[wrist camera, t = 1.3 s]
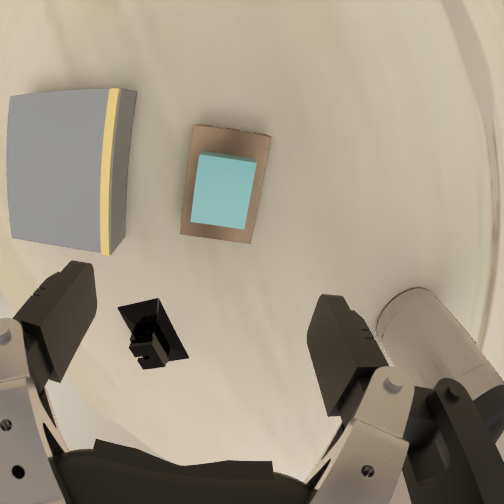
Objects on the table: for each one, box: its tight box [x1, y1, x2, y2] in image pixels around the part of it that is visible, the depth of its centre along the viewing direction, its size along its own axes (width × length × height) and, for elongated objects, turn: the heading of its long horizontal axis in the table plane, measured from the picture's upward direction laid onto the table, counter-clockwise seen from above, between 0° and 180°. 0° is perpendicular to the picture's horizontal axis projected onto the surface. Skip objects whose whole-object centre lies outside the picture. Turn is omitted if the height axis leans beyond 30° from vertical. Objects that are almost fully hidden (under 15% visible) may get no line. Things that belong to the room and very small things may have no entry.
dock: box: [7, 88, 137, 256], centre depth 22 cm, size 12×14×4 cm
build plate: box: [118, 298, 189, 369], centre depth 32 cm, size 12×7×5 cm, turn 14°
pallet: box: [180, 124, 272, 244], centre depth 25 cm, size 6×9×4 cm, turn 170°
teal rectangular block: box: [191, 151, 257, 229], centre depth 22 cm, size 4×5×2 cm
